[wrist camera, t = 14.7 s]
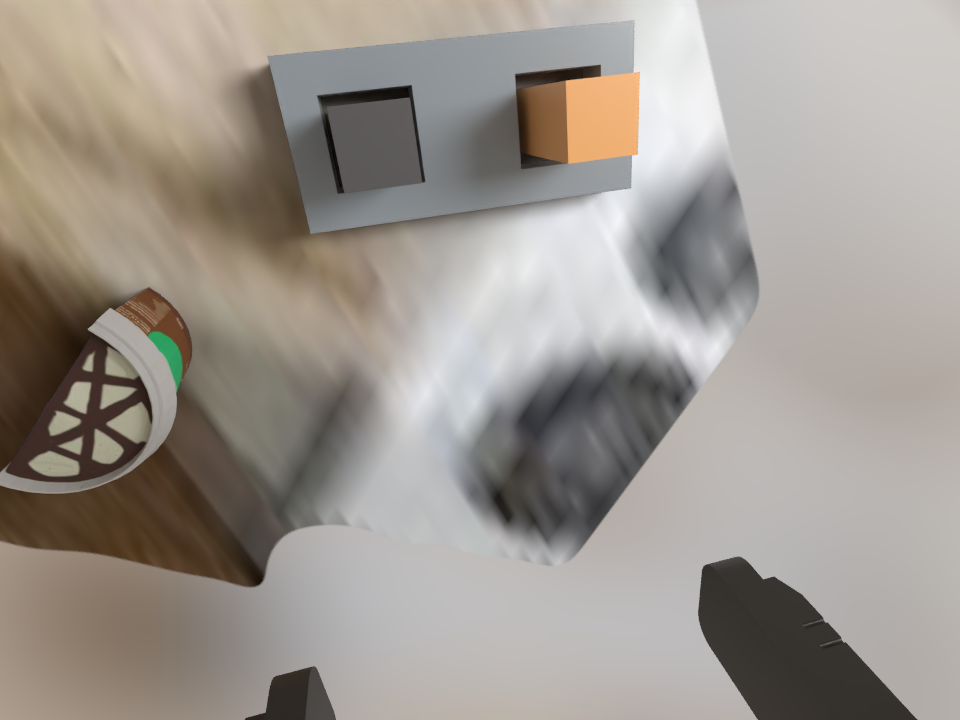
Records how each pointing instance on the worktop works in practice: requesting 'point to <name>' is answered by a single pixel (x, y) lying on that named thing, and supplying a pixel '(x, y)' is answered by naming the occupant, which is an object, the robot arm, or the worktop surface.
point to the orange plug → (580, 118)
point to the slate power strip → (437, 124)
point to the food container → (108, 401)
